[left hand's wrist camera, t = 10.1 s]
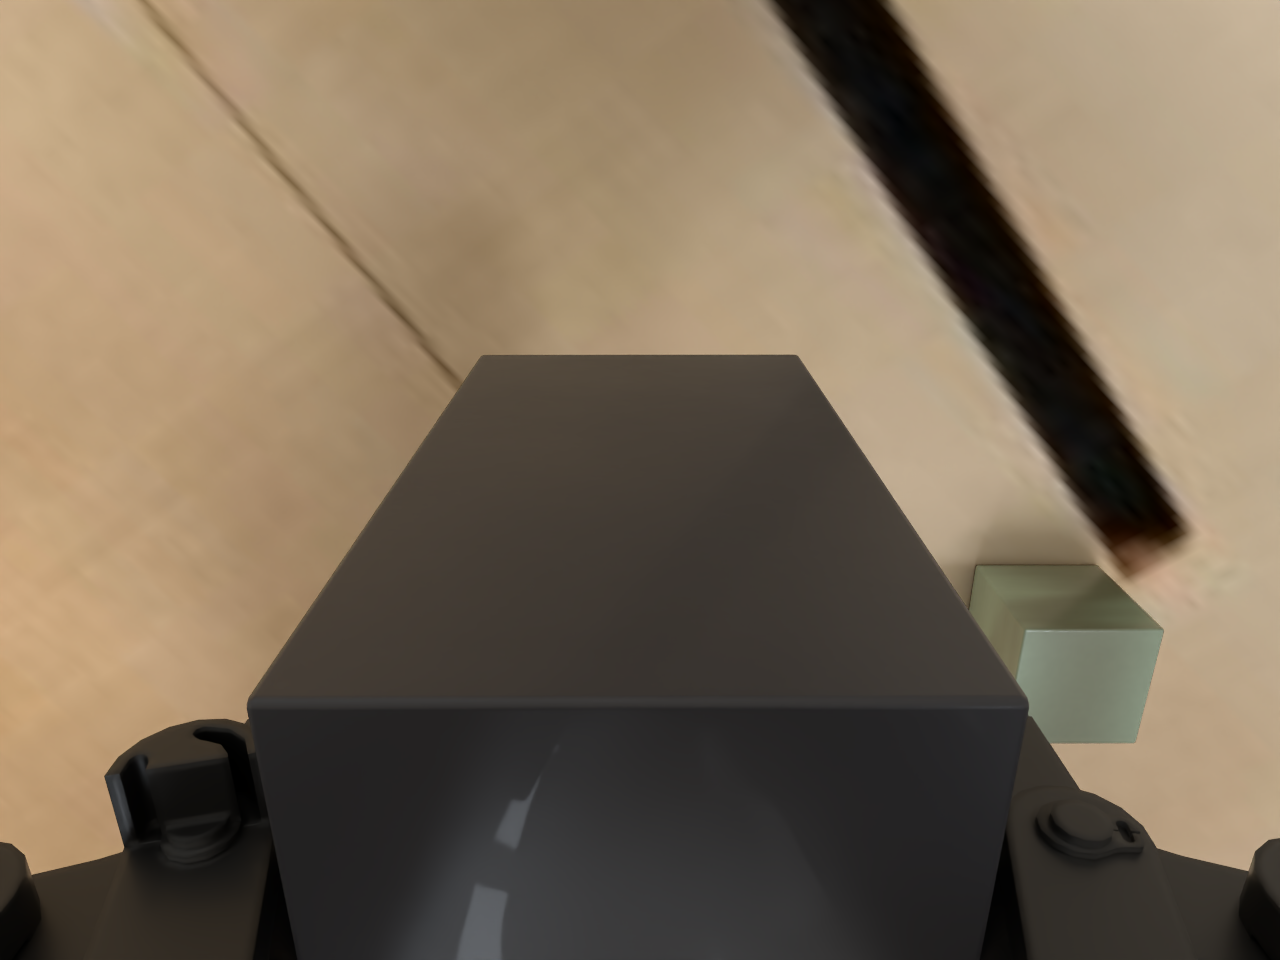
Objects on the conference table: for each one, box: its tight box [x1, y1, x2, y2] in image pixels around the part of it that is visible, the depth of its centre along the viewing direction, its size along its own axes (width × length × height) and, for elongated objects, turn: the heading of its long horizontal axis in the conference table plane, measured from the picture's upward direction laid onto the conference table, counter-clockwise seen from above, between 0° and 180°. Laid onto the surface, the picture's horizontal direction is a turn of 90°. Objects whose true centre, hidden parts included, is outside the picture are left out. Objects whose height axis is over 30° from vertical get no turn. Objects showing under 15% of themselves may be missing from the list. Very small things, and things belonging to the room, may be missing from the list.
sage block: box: [969, 565, 1164, 743], centre depth 28 cm, size 4×4×4 cm
